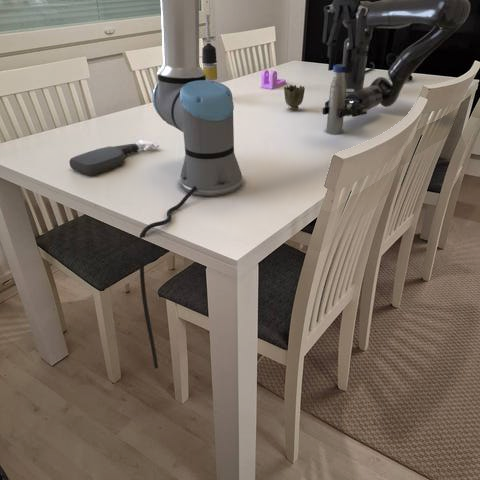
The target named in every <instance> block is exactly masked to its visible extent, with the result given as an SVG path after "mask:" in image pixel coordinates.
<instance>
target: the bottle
mask: <svg viewBox="0 0 480 480" xmlns="http://www.w3.org/2000/svg"><path fill="white" fill-rule="evenodd" d="M345 98H346V80H345V72H344V73H337V72H334V76H333V78H332V81H331V85H330V88H329V98H328V100H329V107H328V114H327V118H326V133H327V134H330V135H339V134H342V133H343V127H344V126H343V125H344V117H342V118H338V112H339V110H342V109H344V107H345Z"/></svg>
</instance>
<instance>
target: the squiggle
mask: <svg viewBox="0 0 480 480" xmlns="http://www.w3.org/2000/svg"><path fill="white" fill-rule="evenodd" d="M399 56H400V55H396V54H394V53H392V52H390V53H387V55H386V57H385V61H386V64H387V67H391V66H392V65H393V63H394V62H395V61H396V59H397V58H398V57H399ZM391 59H392V60H391ZM393 60H394V61H393ZM413 79H414V77H413V75H412V74H411V75H410V77H409V78H408V79H407V80H408V81H412V80H413Z"/></svg>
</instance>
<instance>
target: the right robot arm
mask: <svg viewBox="0 0 480 480" xmlns="http://www.w3.org/2000/svg"><path fill="white" fill-rule="evenodd" d="M360 2H361V6H363V7H365V8H366V7H368V8H369V13H368V15H367V19H366V29H365V38H364V45H363V46H361V47H358V48H357V52H356V59H355V61H353V67H352V72H350V73H345V80H346V98H345V107H344V109H342V110H339V112H338V118H342V117H343V118H344V117H350V116H351V117H352V118H355V117H359V116H363V115H367V114H368V111H370V110H371V109H373V108H375V107H377V106H379V105H381V106H382V107H384V108H388V107H391V106H393V105H394V104H395V103H396V101H398V98H399V96H400V94H401V92H402V90H403V87H404V85H405V84H406V82H407V80H409V79H408V78H409V77H410V75H412V74H413V73H414V72H415V71H416V69H417V68H418V67H419V66H420V65H421V64H422V63H423V62H424V60H425V59H426V58H428V57H429V56H430V55H431V54H432V53H433V52H434V51H435V50H436V49H437V48H438V47H439V46H441V44H442V43H444V42H445V41H446V40H447V39H448V38H449V37H450V36H451V35H453V34H454V33H455V32H456V31H457V30H458V29H459V28H460V27H461V26H462V25H463V24H464V23H465V22H466V20H467V18H468V17H469V14H470V12H471V3H470V1H469V0H378V1H373V2H371V1H369V0H363V1H361V0H360ZM358 12H359V11H358ZM358 12H357V13H356V19H357V21H356V29H357V23H358V16H359V14H358ZM342 24H343V26H344V27H345V28H346V29H348V26H347V23H346V19H344V20H343V22H342ZM412 24H423V25H429V26H432V27H433V28H432V29H431V30H430V31H429V32H428V33H426V34H425V35H423V37H421V38H420V39H419V40H417V41H416V42H414V43H413V44H411V45H410V46H408V47H407V48H405V50H403V51H402V52H401V53H400V54H399V55H398V56H399V57H398V58H397V59H396V61H395V60H394V61H393V65H392V66H389V69H388V70H387V75H388V78H389V80H388V79H387V78H386V77H384V76H378V77H377V78H375V79H374V80H373V81H372V82H371V83H370V85H369V86H366V87H365V88H364V84H365V76H366V73H369V72H371V71H372V70H374V69H375V68H376V65H375V64H374V62H373V61H370V62H369V66H372V67H371V68H368V69H366V68H367V63H368V62H367V61H368V52H369V46H370V43H371V40H372V37H373V32H374V31H373V30H374V28H378V29H393V30H394V29H404V28H407V27H409V26H410V25H412ZM349 47H350V46H349V37H347V38H346V39H345V40H344V42H343V53H342V54H343V55H342V63H341V64H345V63H346V54H347V49H348V48H349ZM390 81H391V82H390ZM328 107H329V99H328V100H327V101H325V102H324V107H322V115H328Z"/></svg>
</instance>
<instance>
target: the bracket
mask: <svg viewBox="0 0 480 480" xmlns="http://www.w3.org/2000/svg"><path fill="white" fill-rule="evenodd" d="M260 76H261V79H260V80H261V83H260V84H261V85H260V87H261V88H264V89H270V90H274V89H276V88H279V87H281V86H284V85H286V84H287V79H284V78H278V72H277V71H276V70H271V71H269V70H268V69H263V70H262V71H261V75H260Z"/></svg>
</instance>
